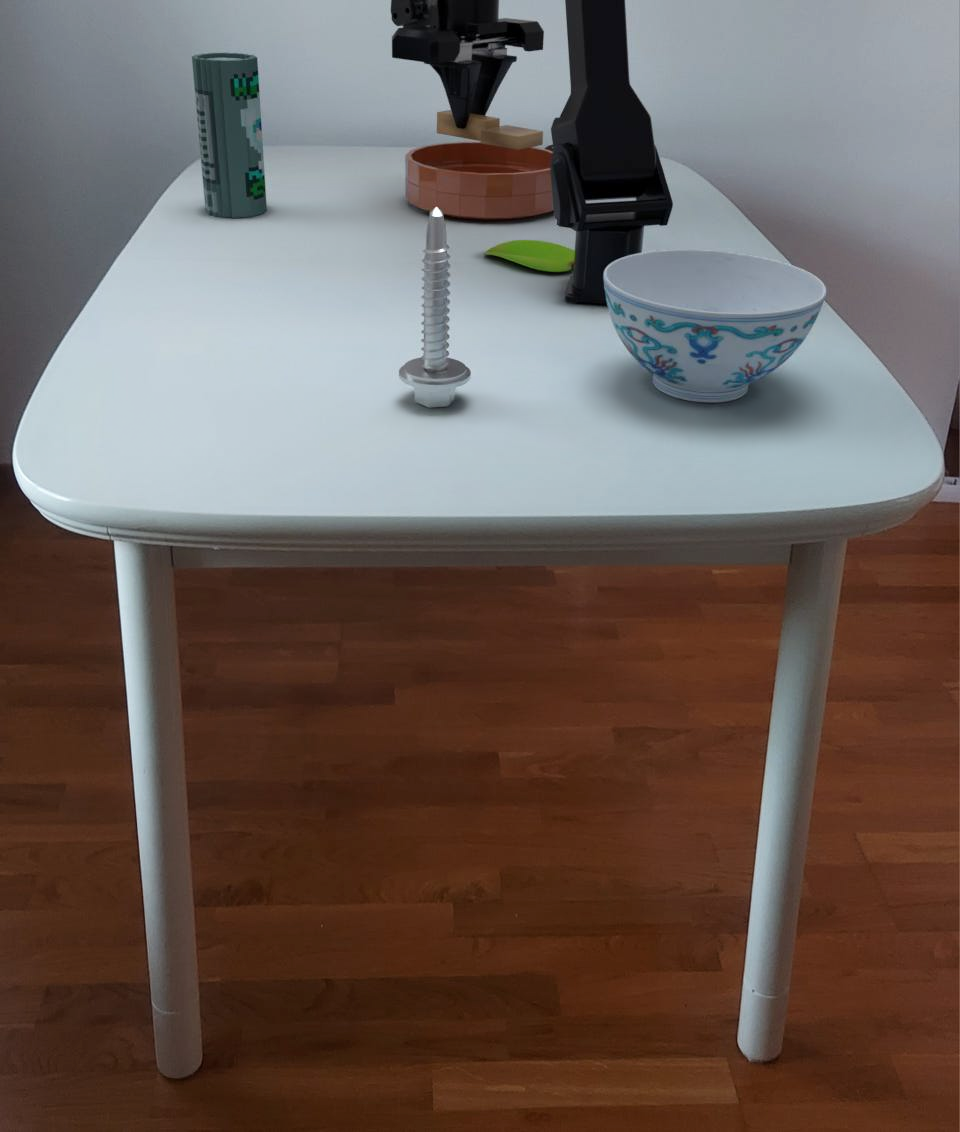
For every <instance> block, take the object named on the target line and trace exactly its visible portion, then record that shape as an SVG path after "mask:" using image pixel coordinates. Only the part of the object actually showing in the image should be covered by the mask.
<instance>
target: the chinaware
mask: <svg viewBox="0 0 960 1132" xmlns="http://www.w3.org/2000/svg"><path fill="white" fill-rule="evenodd" d="M603 278H604V289H605V296H606V301H607V304H606V305H607V309H608V310H607V311H608V313H609V316H610V319H611V322H612V325H613V327H614V329H615V332H616V334H617V336H618V338H619V340H620V341H621V343H622V344H623V345H624V348H625V349H626V350H627V351H628V353H629V354H630V355H631V356H632V357H633V358H634V359H635V360H636V362H638V363H639V364H640V365H641V366H642V367H643V368H644V369H645V370H647V371H648V372H649V373H650V374H652V383H653V385H654V387H655V388H656V389H658V390H659V391H660V392H662V393H664V394H665V395H667V396H669V397H673V398H676V399H680V400H684V401H688V402H694V403H695V402H696V403H706V404H707V403H708V404H710V403H711V404H712V403H714V404H715V403H724V402H725V403H726V402H731V401H735V400H738V399H740V398H742V397H743V396H745V395H746V394H747V393H748V389H749V385H750V384H751V383H754V382H756V381H758V380H760V379H763V378H764V377H766V376H767V375H769V374H771V373H772V372H774V371H775V370H777V369H778V368H779V367H780V366H782V365H783V364H784V363H785V362H786V361H787V360H789V359H790V357H792V356H793V355H794V354H795V352H797V350H798V349H799V348H800V347H801V345H802V344H803V342H804V341H805V340H806V338H807V337H808V335H809V334H810V333H811V330H812V329H813V327H814V325H815V324H816V321H817V318H818V317H819V315H820V312H821V309H822V307H823V305H824V302H825V299H826V296H827V287H826V285H825V283H824V282H823V281H822V280H821V279H820V278H819V277H817V276H816V275H815V274H813V273H811V272H809V271H808V270H806V269H803V268H802V267H798V266H795V265H793V264H790V263H787V262H784V261H780V260H777V259H772V258H769V257H765V256H760V255H754V254H747V253H741V252H733V251H726V250H725V251H724V250H715V249H714V250H713V249H688V248H686V249H683V248H682V249H661V250H653V251H650V250H649V251H644V252H643V251H642V253H638V254H633V255H629V256H626V257H623V258H620V259H618V260H615V261H614V262H612V263H610V264H609V265H608V266H607V267H606V268H605V270H604V276H603Z"/></svg>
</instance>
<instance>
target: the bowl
mask: <svg viewBox="0 0 960 1132" xmlns="http://www.w3.org/2000/svg"><path fill="white" fill-rule="evenodd" d="M552 153H553V152H552V151H550V150H547V149H545V148H541V147H538V146H535V147H530V148H526V149H521V150H514V149H508V148H503V147H497V146H492V145H486V144H481V141H454V142H440V143H434V144H428V145H422V146H418V147H415V148H413V149H410V150H409V151H408V152H407V153H406V154H405V160H404V162H405V163H404V165H405V167H404V168H405V174H404V175H405V185H404V186H405V189H404V191H405V198H406V200H407V202H408V203H409V204H411V205H413V206H415V207H417V208H419V209H421V210H426V211H429V212H430V211H431V210H433V209H434V208H436V207H437V208H439V209H440V210H442V212H443V216H447V217H451V218H458V219H467V220H477V221H479V220H480V221H505V220H516V219H517V220H518V219H525V218H530V217H534V216H538V215H542V214H546V213H551V212H552V211H553V212H554V209H553V197H552V184H551V171H550V161H551V158H552Z"/></svg>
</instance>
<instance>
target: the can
mask: <svg viewBox="0 0 960 1132" xmlns="http://www.w3.org/2000/svg"><path fill="white" fill-rule="evenodd" d="M191 63H192V73H193V75H192V76H193V84H194V98H195V108H196V118H197V130H198V141H199V143H198V144H199V154H200V163H201V164H200V165H201V173H202V174H201V176H202V186H203V198H204V209H205V212H206V214H208V215H209V216H210V215H213V217H218V218H226V219H227V218H232V219H238V218H239V219H241V218H242V219H243V218H252V217H257V216H260V215H262V214H265V213H266V212H267V211H268V207H267V206H268V205H267V191H266V175H265V173H266V172H265V158H264V142H263V129H262V126H263V125H262V115H261V114H262V112H261V111H262V110H261V95H260V77H259V65H258V63H259V62H258V57H257V56H256V55H254V54H248V53H240V52H239V53H238V52H208V53H198V54H194V55H191Z"/></svg>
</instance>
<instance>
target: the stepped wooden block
mask: <svg viewBox="0 0 960 1132" xmlns="http://www.w3.org/2000/svg"><path fill="white" fill-rule="evenodd" d="M500 121H501V120H500V117H496V116H489V115H485V116H483V115H477V114H471V113H470V116H469V119H468V123H467V126H466V128H465V129H460V128H457V127H456V125H455V121H454V118H453V115H452V111H451V109H447V110H440V111H437V112H436V134H439V135H445V136H449V137H456V138H461V139H467V140H474V141H476V142H481V144H486V145H492V146H497V147H503V148H508V149H514V150H521V149H526V148H530V147H539V146H542V145H543V144H544V143H543V141H544V130H538V129H532V128H526V127H520V126H514V125H509V124H504V125H500Z"/></svg>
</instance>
